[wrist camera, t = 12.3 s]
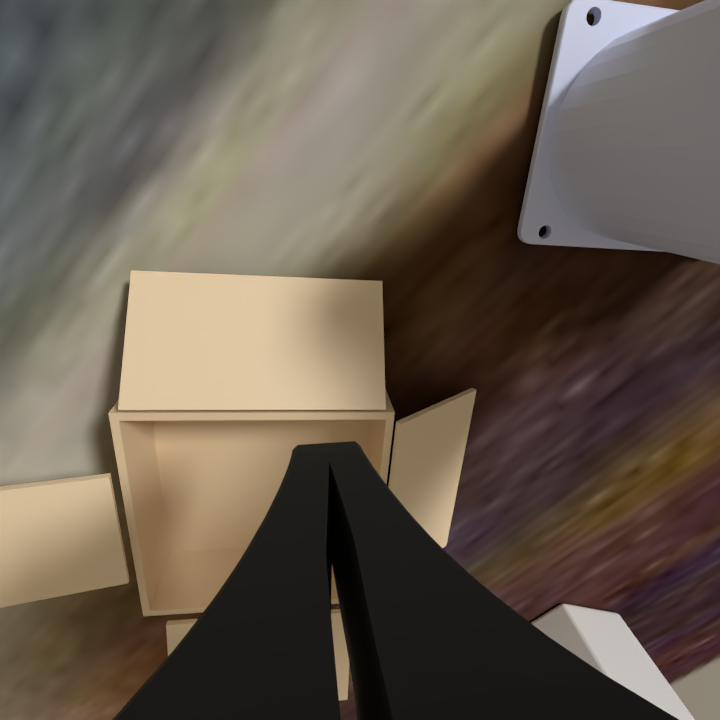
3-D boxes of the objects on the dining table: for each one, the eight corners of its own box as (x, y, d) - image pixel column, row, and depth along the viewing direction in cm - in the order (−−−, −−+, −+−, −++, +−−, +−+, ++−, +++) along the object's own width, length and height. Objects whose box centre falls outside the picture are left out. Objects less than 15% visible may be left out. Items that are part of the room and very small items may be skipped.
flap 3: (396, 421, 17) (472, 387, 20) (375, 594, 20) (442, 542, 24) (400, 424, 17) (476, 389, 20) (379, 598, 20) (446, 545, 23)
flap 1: (109, 477, 16) (-67, 498, 14) (128, 583, 18) (-24, 612, 16) (110, 473, 16) (-63, 494, 14) (129, 578, 18) (-21, 606, 16)
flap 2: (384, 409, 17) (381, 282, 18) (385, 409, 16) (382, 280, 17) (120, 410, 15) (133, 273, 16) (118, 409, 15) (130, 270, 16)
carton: (379, 373, 20) (394, 412, 17) (362, 542, 24) (372, 601, 20) (141, 370, 18) (108, 413, 15) (165, 551, 22) (143, 616, 19)
